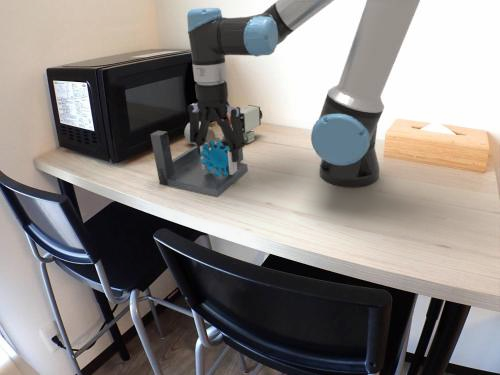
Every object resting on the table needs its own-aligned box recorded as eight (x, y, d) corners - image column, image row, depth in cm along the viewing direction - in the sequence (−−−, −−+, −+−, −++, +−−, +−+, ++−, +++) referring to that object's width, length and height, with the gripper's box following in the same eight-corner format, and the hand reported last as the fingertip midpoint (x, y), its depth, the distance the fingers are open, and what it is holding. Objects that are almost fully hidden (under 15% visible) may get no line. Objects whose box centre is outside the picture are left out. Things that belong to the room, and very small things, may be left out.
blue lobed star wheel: (211, 178, 90) (196, 141, 92) (200, 187, 95) (187, 152, 97) (245, 170, 97) (231, 137, 99) (234, 179, 101) (221, 147, 103)
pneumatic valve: (263, 137, 125) (262, 102, 120) (242, 148, 117) (239, 111, 112) (250, 134, 128) (248, 100, 123) (229, 145, 120) (226, 109, 115)
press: (258, 161, 108) (256, 115, 101) (217, 197, 90) (211, 143, 84) (206, 153, 115) (201, 109, 109) (159, 184, 98) (150, 134, 92)
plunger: (239, 145, 108) (237, 115, 103) (231, 151, 104) (228, 120, 99) (225, 143, 110) (222, 113, 105) (216, 149, 106) (213, 118, 102)
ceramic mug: (199, 151, 117) (196, 128, 113) (185, 145, 122) (182, 122, 119) (225, 143, 123) (224, 120, 119) (211, 137, 128) (209, 115, 125)
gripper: (166, 82, 88) (179, 169, 98) (241, 88, 79) (247, 182, 89) (184, 76, 93) (195, 159, 104) (257, 80, 84) (261, 170, 95)
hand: (219, 169), depth 97 cm, fingers closed on blue lobed star wheel, 8 cm apart
